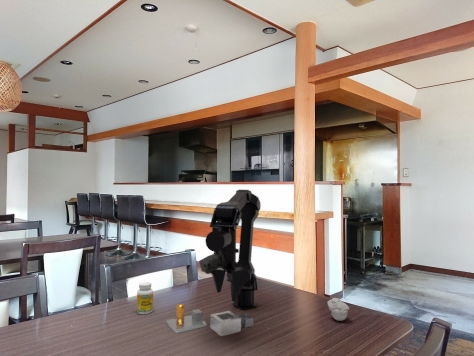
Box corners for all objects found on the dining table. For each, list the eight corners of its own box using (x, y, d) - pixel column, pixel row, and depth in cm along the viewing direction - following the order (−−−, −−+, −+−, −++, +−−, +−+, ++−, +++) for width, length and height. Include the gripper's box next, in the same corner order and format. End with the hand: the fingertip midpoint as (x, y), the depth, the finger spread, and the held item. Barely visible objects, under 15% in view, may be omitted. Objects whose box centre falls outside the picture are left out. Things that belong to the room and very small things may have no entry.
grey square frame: (229, 323, 107) (229, 310, 107) (240, 331, 101) (240, 318, 102) (210, 327, 104) (210, 314, 104) (220, 336, 98) (221, 322, 98)
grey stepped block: (246, 321, 109) (246, 311, 109) (253, 325, 106) (253, 315, 106) (232, 324, 106) (232, 314, 106) (238, 329, 103) (238, 319, 103)
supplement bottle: (149, 307, 119) (150, 280, 120) (155, 312, 115) (155, 284, 115) (134, 310, 117) (135, 282, 117) (139, 315, 112) (140, 286, 112)
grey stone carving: (327, 315, 115) (328, 294, 115) (349, 318, 113) (349, 297, 113) (326, 321, 110) (326, 300, 110) (349, 325, 107) (349, 303, 107)
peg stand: (195, 317, 112) (195, 297, 112) (206, 326, 105) (206, 305, 105) (166, 323, 106) (166, 302, 106) (175, 333, 99) (176, 311, 100)
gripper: (189, 242, 107) (189, 292, 107) (218, 253, 91) (217, 311, 91) (220, 239, 113) (220, 286, 112) (252, 249, 97) (251, 304, 96)
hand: (225, 296), depth 103 cm, fingers open, 9 cm apart
